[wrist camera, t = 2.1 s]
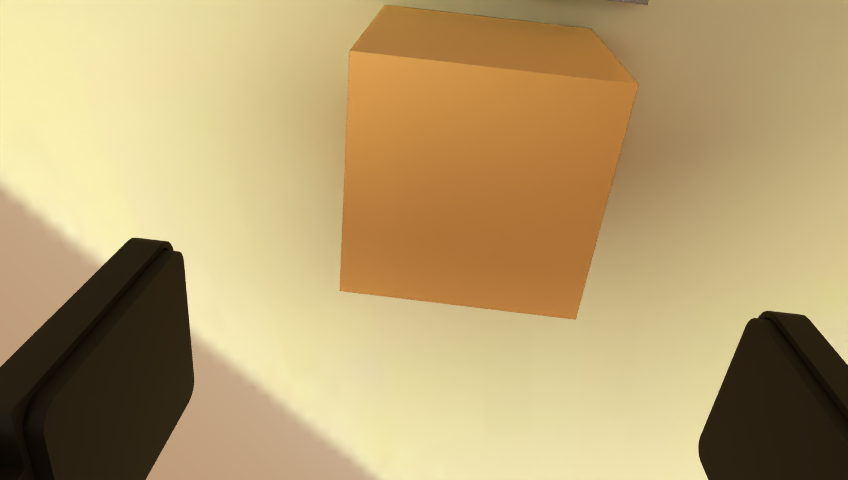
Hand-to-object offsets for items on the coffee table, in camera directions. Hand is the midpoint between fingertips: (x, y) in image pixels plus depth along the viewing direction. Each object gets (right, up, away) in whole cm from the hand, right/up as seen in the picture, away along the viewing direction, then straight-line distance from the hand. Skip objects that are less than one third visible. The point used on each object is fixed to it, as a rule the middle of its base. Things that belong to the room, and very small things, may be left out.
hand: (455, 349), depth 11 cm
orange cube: (+1, +6, +9) cm, 11 cm away
